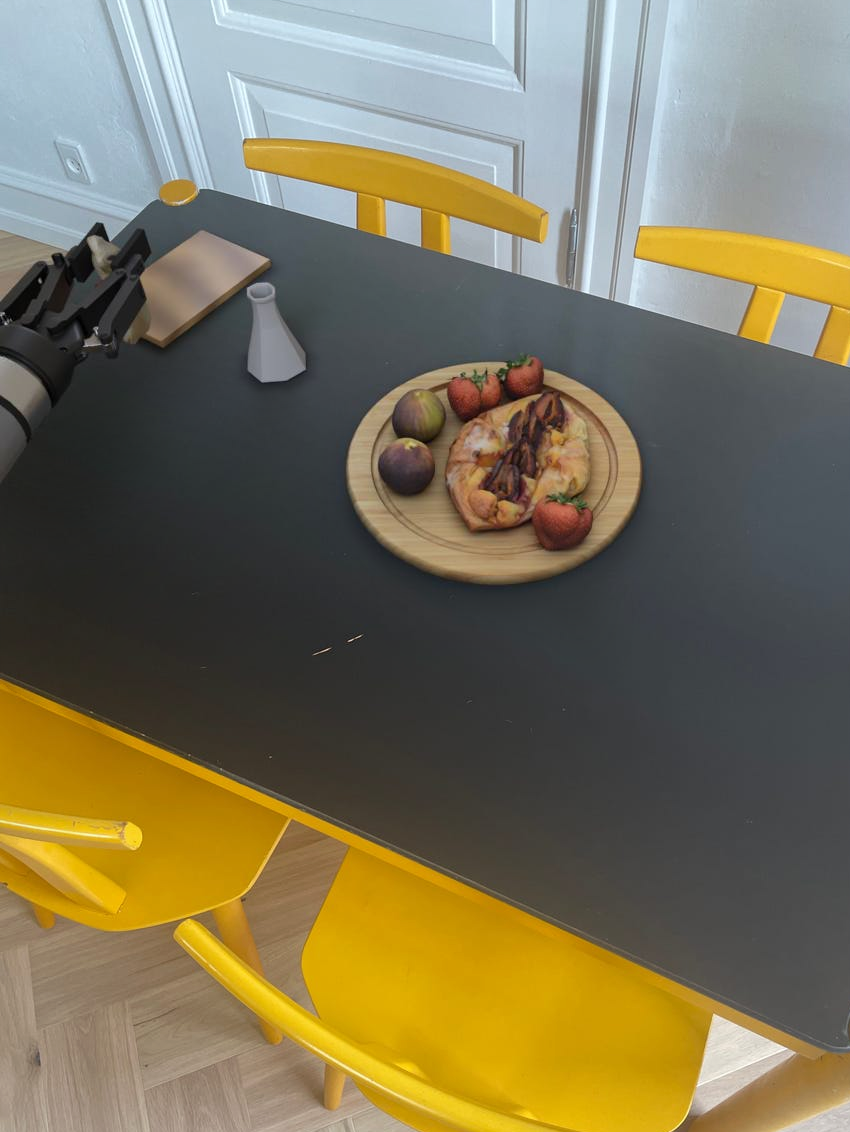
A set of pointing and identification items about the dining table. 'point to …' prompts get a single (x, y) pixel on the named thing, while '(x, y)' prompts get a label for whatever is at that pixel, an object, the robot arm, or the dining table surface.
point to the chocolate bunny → (101, 260)
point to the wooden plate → (494, 472)
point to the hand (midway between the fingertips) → (124, 237)
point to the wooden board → (195, 283)
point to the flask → (271, 339)
